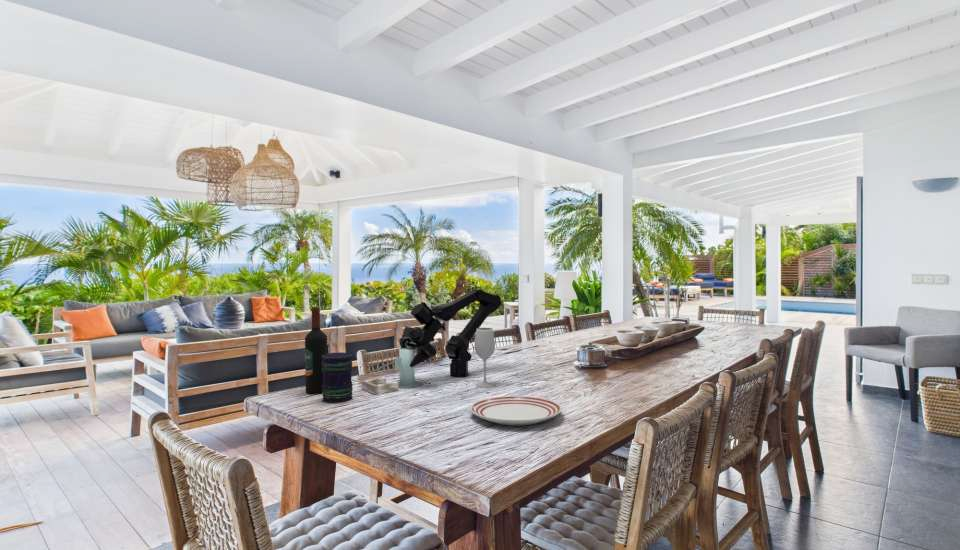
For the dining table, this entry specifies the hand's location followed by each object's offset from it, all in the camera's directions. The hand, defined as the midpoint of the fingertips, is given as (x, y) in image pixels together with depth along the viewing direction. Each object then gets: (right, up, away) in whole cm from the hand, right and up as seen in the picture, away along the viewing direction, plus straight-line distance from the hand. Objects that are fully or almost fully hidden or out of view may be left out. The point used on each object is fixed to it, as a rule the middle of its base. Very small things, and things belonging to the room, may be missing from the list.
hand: (403, 364), depth 190 cm
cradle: (-8, -8, -6) cm, 13 cm away
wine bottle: (-30, -8, -8) cm, 32 cm away
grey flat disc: (+1, -8, +1) cm, 8 cm away
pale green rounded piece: (0, -7, 0) cm, 7 cm away
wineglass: (+30, -8, 0) cm, 31 cm away
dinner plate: (+39, -9, -37) cm, 54 cm away
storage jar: (-20, -9, -18) cm, 28 cm away
